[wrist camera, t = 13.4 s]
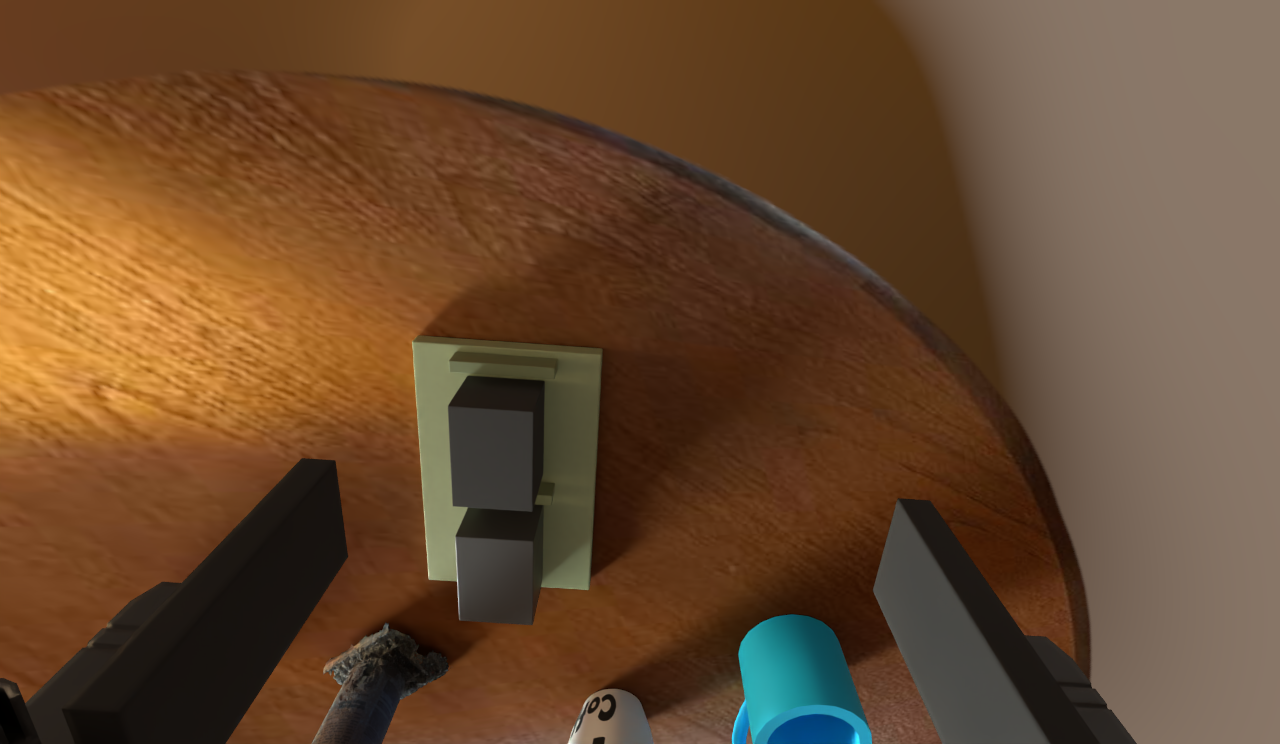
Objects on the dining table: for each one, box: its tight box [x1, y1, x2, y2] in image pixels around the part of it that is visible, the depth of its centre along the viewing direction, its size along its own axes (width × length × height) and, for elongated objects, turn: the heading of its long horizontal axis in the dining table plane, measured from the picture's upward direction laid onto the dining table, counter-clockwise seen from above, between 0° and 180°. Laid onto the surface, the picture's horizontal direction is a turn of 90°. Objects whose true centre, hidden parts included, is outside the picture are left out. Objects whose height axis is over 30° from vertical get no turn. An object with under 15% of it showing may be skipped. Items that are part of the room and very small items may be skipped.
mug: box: [732, 614, 872, 744], centre depth 49 cm, size 12×8×8 cm
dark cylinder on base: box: [312, 623, 449, 744], centre depth 48 cm, size 9×8×12 cm
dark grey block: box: [448, 376, 545, 512], centre depth 41 cm, size 7×5×4 cm
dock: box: [412, 336, 603, 625], centre depth 43 cm, size 19×12×6 cm, turn 176°
